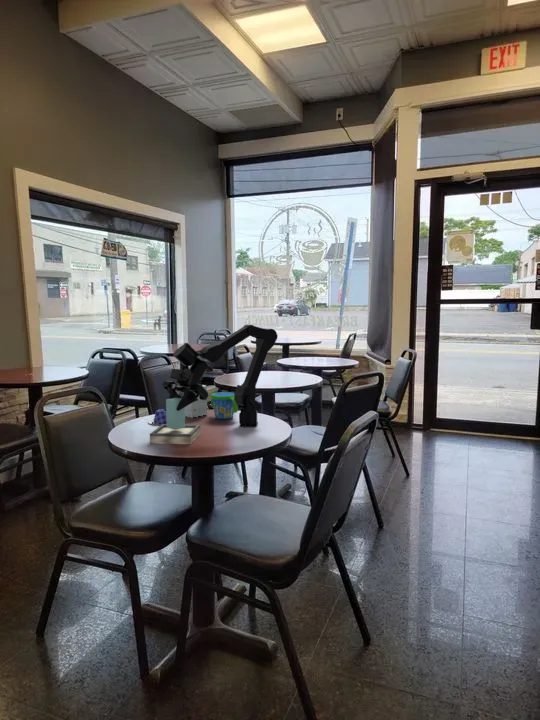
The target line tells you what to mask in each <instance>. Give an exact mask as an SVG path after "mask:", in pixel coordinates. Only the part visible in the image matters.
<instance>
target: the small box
mask: <svg viewBox="0 0 540 720" xmlns="http://www.w3.org/2000/svg"><path fill="white" fill-rule="evenodd" d="M198 385H200V384H198ZM201 385H202V386H203V387H204V388H205V389H206V391H207V392H208V389H207V388H208V387H207V385H205V384H201ZM182 393H183V395H184V392H182ZM197 399H198V401H195V402H193V403H191V404H189V405H188V406H186V407H185V417H186V416H187V417H186V418H189V417H191V418H190V419H194V418H193V417H196V418H199V417H198V416H201V417H204V416H203V415H207V416H208V398H207V399H206V400H200V398H199V396H198V398H197Z"/></svg>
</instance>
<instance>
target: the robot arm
mask: <svg viewBox="0 0 540 720" xmlns="http://www.w3.org/2000/svg"><path fill="white" fill-rule="evenodd" d="M278 336H279V335H278V333H277V331H276V330H275V329H273V328H263V327H259V326H255V325H254V324H244V325H243V326H242V327H241V328H239V329H237V330H235V331H234V332H232V333H231V334H230V335H228V336H226V337H225V338H222V339H221V340H219V341H217V342H214V343H210V344H207V345H205V346H203V347H202V348H201V349H200V350H195V349H194V348H193V347H192V346H191V345H190V344H189V343H188V342H184V343H183V344H181V346H179V347H178V348H176V350H175V351H174V352H173V357H174V358H175V360H177V361H179V363H180V364H181V365H183V366H184V367H189V368H183V369H180V368H171V371H170V375H169V379H173V380H176V382H175V381H173V380H164V381H163V382H162V384H161V387H162V388H163V389H164V390H165V391H166V393H168V394H169V396H168V397H169V398H168V399H171V398H181V401H180V402H179V404H178V406H177V409H176V410H177V411H179V410H181V409H183V408H184V407H186V406H188V405H189V404H191V403H193V402H195V401H198V399H197V398H198V396H199V398H200V400H206V399H207V400H208V397H209V391H208V390H207V391H206V389H205V388H204V387H203V386H202V385H203V381H202V380H203V378H204V376H205V374H208V373H213V372H214V370H213V369H214V368H213V366H212V364H213V363H216V362H218V361H219V360H220V359H221V358H223V357H224V355H225V354H226V353H227V351H229V350H230V349H232V348H234V347H235V346H237V345H238V344H239V343H241V342H243V341H244V340H246V339H247V338H249V337H252V338H255V351H254V353H253V356H252V358H251V361H250V365H249V368H248V370H247V373H246V376H245V377H244V380H243V383H242V384H241V385H239V384H237V385H236V388H235V392H233V393H234V395H235V396H234V400H235V402H236V403H237V405H238V409H240V412H239V415H238V424H239V426H240V427H255V428H256V427H258V424H259V422H258V412H259V411H260V409H261V406H262V405H261V404H260V403H259V402H258V400H256V397H257V396H256V395H257V390H256V389H257V388H256V387H257V383H258V381H259V377H260V375H261V372H262V369H263V366H264V363H265V361H266V358H267V355H268V353H269V351H271V349H272V348H273V347H274V346H275V344H276V342H277V341H278ZM201 359H202V360H201ZM207 362H209V363H212V364H208V363H207ZM198 384H199V385H198ZM183 392H184V395H183V396H181V395H180V394H181V393H183Z"/></svg>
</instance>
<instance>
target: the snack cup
mask: <svg viewBox="0 0 540 720" xmlns="http://www.w3.org/2000/svg"><path fill="white" fill-rule="evenodd" d="M234 393H235V392H231V391H230V392H229V391H222V392H219V391H218V392H213V393H211V395H210V398H211V401H210V406H211V408H213V412H214V413H213V414H214V417H215V419H218V420H219V419H220V420H230V419H232V418H233V417H234V414H235V413H238V411H239V407H238V404H237V403H236V402H235V400H234V396H235V395H234Z"/></svg>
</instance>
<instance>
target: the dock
mask: <svg viewBox="0 0 540 720" xmlns="http://www.w3.org/2000/svg"><path fill="white" fill-rule="evenodd" d="M200 435H201V424H185V427H184V428H180V429H176V430H175V429H170V428H167V424H162V425H159V426H158V427H157V428H155V429H154V430H153V431H151V433H149V443H150V444H155V445H156V444H159V445H160V444H161V445H192V444H193V443H194V442H195V441H196V439H197V438H198V437H199V436H200ZM192 442H193V443H192Z"/></svg>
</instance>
